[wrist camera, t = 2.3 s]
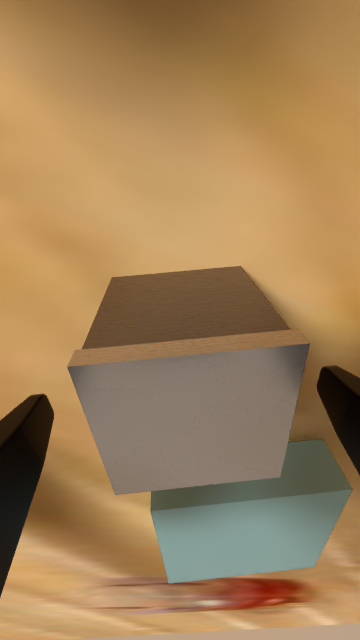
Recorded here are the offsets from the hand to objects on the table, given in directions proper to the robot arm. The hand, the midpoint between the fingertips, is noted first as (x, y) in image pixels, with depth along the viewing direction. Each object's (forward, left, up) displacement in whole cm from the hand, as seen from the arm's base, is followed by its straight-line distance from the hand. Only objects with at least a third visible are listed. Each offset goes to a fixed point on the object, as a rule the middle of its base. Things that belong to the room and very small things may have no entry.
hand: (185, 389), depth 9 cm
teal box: (+3, -15, -4) cm, 16 cm away
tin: (0, 0, -4) cm, 4 cm away
